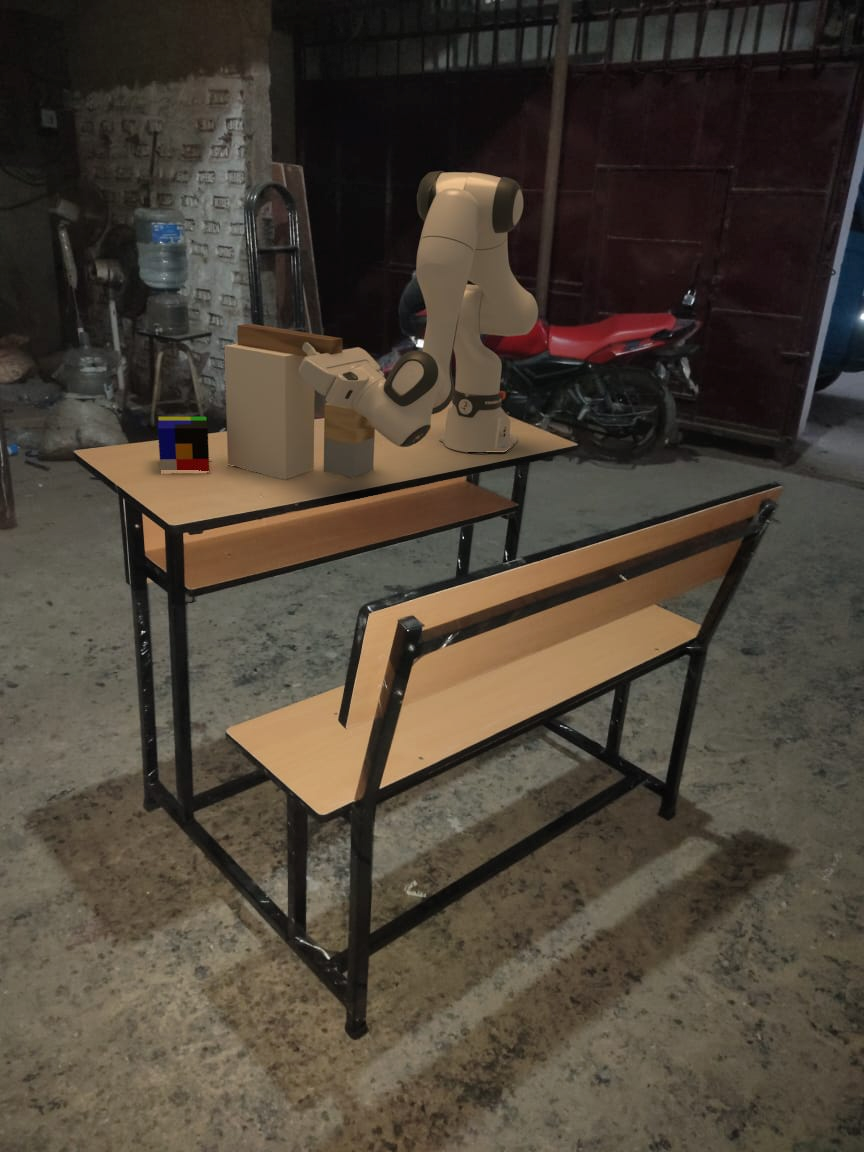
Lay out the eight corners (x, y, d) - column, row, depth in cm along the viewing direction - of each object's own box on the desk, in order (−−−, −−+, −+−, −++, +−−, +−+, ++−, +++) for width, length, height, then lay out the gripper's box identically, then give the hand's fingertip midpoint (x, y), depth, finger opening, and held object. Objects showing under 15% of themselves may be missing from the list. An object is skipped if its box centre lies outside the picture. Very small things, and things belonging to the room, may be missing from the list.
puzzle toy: (160, 474, 181) (157, 428, 177) (161, 461, 190) (158, 416, 186) (209, 473, 184) (207, 428, 180) (207, 460, 193) (206, 416, 189)
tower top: (344, 431, 195) (345, 398, 192) (374, 437, 191) (375, 404, 188) (324, 437, 188) (324, 403, 185) (354, 444, 185) (355, 410, 182)
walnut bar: (250, 342, 185) (249, 323, 183) (342, 358, 175) (342, 338, 173) (237, 344, 182) (237, 325, 180) (330, 360, 171) (331, 340, 170)
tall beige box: (257, 456, 198) (255, 341, 188) (313, 469, 191) (315, 351, 181) (228, 465, 190) (224, 345, 180) (285, 479, 183) (285, 356, 173)
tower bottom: (344, 463, 198) (344, 431, 195) (373, 469, 194) (374, 437, 191) (323, 470, 191) (324, 437, 188) (353, 477, 188) (354, 444, 185)
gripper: (395, 367, 179) (349, 326, 181) (339, 381, 162) (288, 335, 165) (381, 391, 182) (336, 350, 185) (325, 406, 166) (275, 361, 168)
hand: (313, 343), depth 174 cm, fingers closed on walnut bar, 4 cm apart
